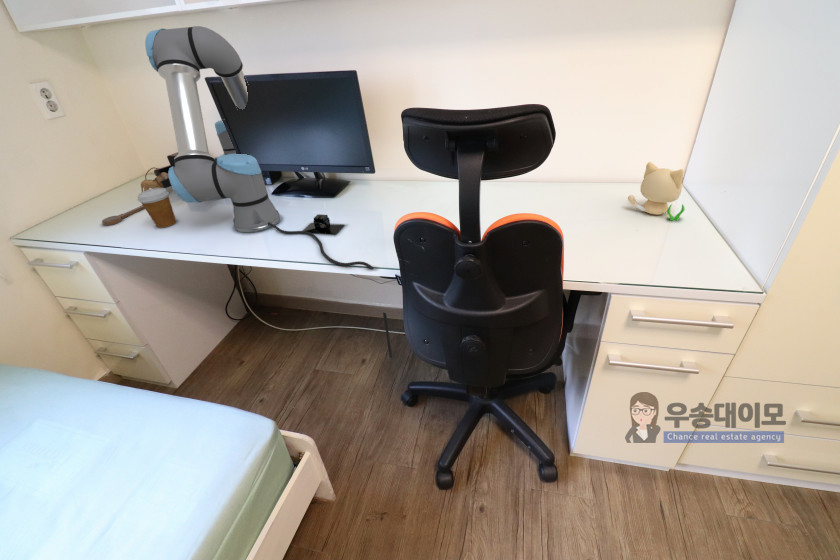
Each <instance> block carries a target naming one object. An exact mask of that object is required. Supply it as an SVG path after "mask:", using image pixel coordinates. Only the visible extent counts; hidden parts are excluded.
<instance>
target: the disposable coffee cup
mask: <svg viewBox="0 0 840 560" xmlns="http://www.w3.org/2000/svg"><path fill="white" fill-rule="evenodd" d="M169 194H170V192H169V191H167V188H165V189H164V188H155V189H152V188H149V190H147V191H144V190H143V192H142V191H141V192H140V193H138V194H137V201H138V202H139V203H141V206H142V205H143V206H144V208H145V209H144V210H145V211H146V212H147V214H148V215H149V217H150V218H151V220H152V221H153V223H154V224H155V226H156V227H157V228H159V229H161V228H168V227H171V226H174V224H176V223H177V220H176V216H175V213H174V209H173V207H172V203H171V200H170V197H169Z"/></svg>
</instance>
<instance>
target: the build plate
mask: <svg viewBox="0 0 840 560" xmlns="http://www.w3.org/2000/svg"><path fill="white" fill-rule="evenodd" d="M345 226H346V225H345V224H343V223H342V224H341V223H331V221H330V218H329V216H328V214H316V215H315V216H314V217H313V222H310V223H309V224H308V225H307V226H306V227H305V228H304V229H303V230H302V231H307V232H310V233H312V234H314V235H325V236H326V235H330V236H337V235H338V234H339V232H341V231H342V229H343V228H344V227H345Z"/></svg>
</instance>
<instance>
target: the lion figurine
mask: <svg viewBox="0 0 840 560" xmlns="http://www.w3.org/2000/svg"><path fill="white" fill-rule="evenodd" d="M167 178H169V176H168V173H167V172H160V173H159V174H158V175H157V176H156V177H154V179H153V180H147V179H145V180H142V181H141V182H140V190H141V192H144V191H147V190H150V189H155V188H164V187H163V185H162V183H161V181H162V180H165V179H167ZM164 189H166V188H164Z"/></svg>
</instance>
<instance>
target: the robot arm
mask: <svg viewBox="0 0 840 560" xmlns="http://www.w3.org/2000/svg"><path fill="white" fill-rule="evenodd" d="M144 44H145V45H144V46H145V52H146V56H147V57H148V62H149V63H150V65H151V67H152V69H153V70H154V71H155V72H157V73H158V75H159V76H160V77H161V78H162V79H163V80H165V85H166V93H167V97H168V102H169V108H170V113H171V114H170V115H171V119H172V126H173V131H174V136H175V142H176V146H177V153H178V154H177V155H176V156H174V157H173V162H174V166H171V167H169V168H168V171H167V172H168V173H167V174H168V176H169V178H167V179H165V180H162V181H161V183H162V185H163V187H164V188H165V189H167V188H170V187H172V190H173V191H174V193H175V194H176V196H177V197H178V198H179V199H180V200H181V201H183V202H185V203H189V204H192V203H193V204H194V203H203V202H210V201H216V200H217V201H218V200H224V199H230V201H231V203H232V207H233V219H232V222H233V226H234V228H235V231H237V232H240V233H243V234H250V233H258V232H262V231H266V230H268V229H271V228H273V229H275V230H276V231H278V232H279V233H281V234H286V235H298V234H300V235H301V234H304V235H307V236H311V237H312V238H313V239H314V240H315V241H316V242H317V244H318V246H319V250H320V253H321V254H322V255H323V256H324V258H325V259H327V260H328V261H329V262H331V263H332V264H334V265H337V266H339V267H340V266H342V267H351V266H356V265H357V266H358V265H360V266H365V267H367V268H368V269H369V270H375V268H374V267H373V266H372V265H371V264H369V263H368V262H365V261H359V260H357V261H349V262H342V261H341V262H340V261H338V260H335V259H333V258H332V257H330V256H329V255H328V254H327V253H326V252H325V250H324V246H323V243H322V241H321V240H320V239H319V237H318V236H317V235H316V234H312V233H310V232H307V231H303V230H284V229H281V228H279V227H278V226H277V225H278V224H279V223H280V222H281V215H280V212H279V210H277V208H276V206H275V205H274V203H273V202H272V201H271V199H270V197H269V194H268V191H267V188H266V183H265V180H264V177H263V173H262V169H261V168H260V164H259V161H258V160H257V158H256V157H255V156H253V155H252V154H250V155H247V154H236V151H235V149H234V147H233V145H232V143H231V140H230V138H229V135H228V133H227V130H226V128H225V125H224V123H223V121H222V120H223V119H221V120H217V121H216V122H214V128H215V131H216V135H217V138H218V141H219V143H220V146H221V149H222V151H223V154H220V155H216V156H215V157H214V156H213V155H212V154H210V153H209V146H208V141H207V135H206V129H205V124H204V118H203V112H202V105H201V102H200V96H199V90H198V84H197V82H198V81H199V80H200V79H201V70H206V69H212V70H213V72H214V73H215V75H216V76H217V77H219V78H221V80H222V82H223V85H224V87H225V88H226V91H227V92H228V94H229V96H230V98H231V99H232V102H233V103H234V105H235V107H236V106H237V107H238V108H239V109H242V110H243V109H245V107H246V105H247V102H248V92H247V86H246V82H245V79H244V76H245V73H244V71H243V69H244V65H243V64H244V63H243V62H242V60H241V57H240V55H239V53H238V52H237V50H236V49H235V48H234V47H233V45H232V44H231V43H230V42H229V41H228V40H226V38H225V37H223V36H222V35H221V34H219V33H218V32H216V31H214V30H213V29H212V28H208V27H206V26H200V25H193V26H187V27H176V28H159V29H153V30H150V31H149V32H147V34H146V36H145V41H144ZM237 107H236V108H237ZM382 316H383V323H384V329H385V337H386V343H387V350H388V355H389V358H390V359H392V358H393V353H392V346H391V340H390V331H389V324H388V318H387V313H386V312H382Z"/></svg>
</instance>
